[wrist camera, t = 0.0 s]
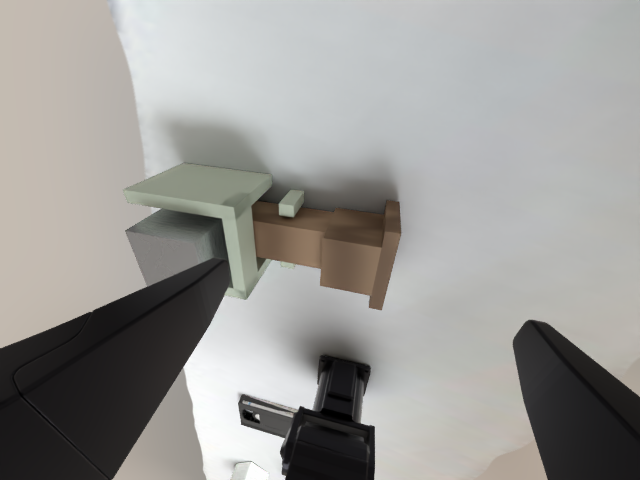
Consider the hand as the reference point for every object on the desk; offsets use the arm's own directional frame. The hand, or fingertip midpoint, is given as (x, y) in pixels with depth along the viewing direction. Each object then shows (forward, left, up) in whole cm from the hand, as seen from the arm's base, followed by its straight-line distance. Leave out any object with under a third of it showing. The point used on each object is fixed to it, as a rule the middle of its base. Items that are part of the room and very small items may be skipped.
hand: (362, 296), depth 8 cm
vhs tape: (-45, +9, -15) cm, 49 cm away
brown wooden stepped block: (-6, +7, -14) cm, 17 cm away
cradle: (-6, +12, -15) cm, 20 cm away
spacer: (-6, +13, -11) cm, 18 cm away
